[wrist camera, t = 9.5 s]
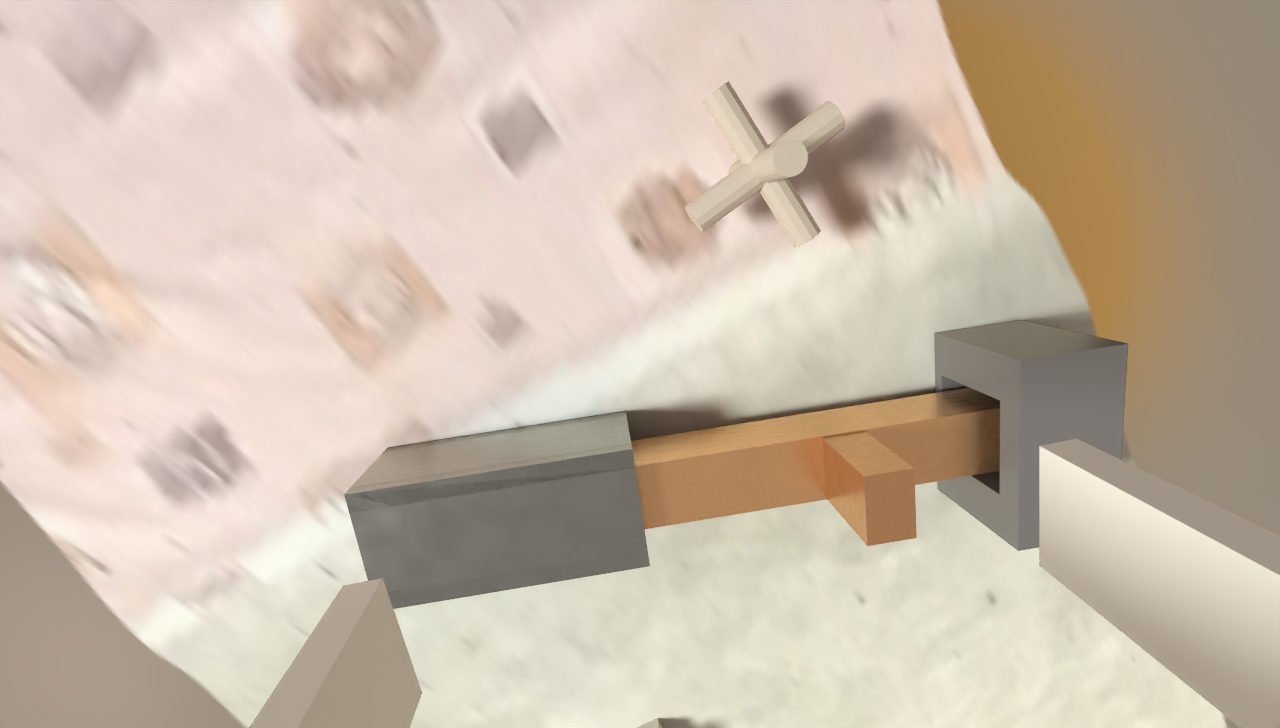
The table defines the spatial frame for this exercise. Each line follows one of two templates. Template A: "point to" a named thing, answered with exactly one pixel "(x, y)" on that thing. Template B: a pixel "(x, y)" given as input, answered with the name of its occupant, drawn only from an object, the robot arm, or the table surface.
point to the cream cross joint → (764, 165)
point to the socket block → (1031, 410)
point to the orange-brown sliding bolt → (823, 462)
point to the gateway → (652, 724)
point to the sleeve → (500, 510)
